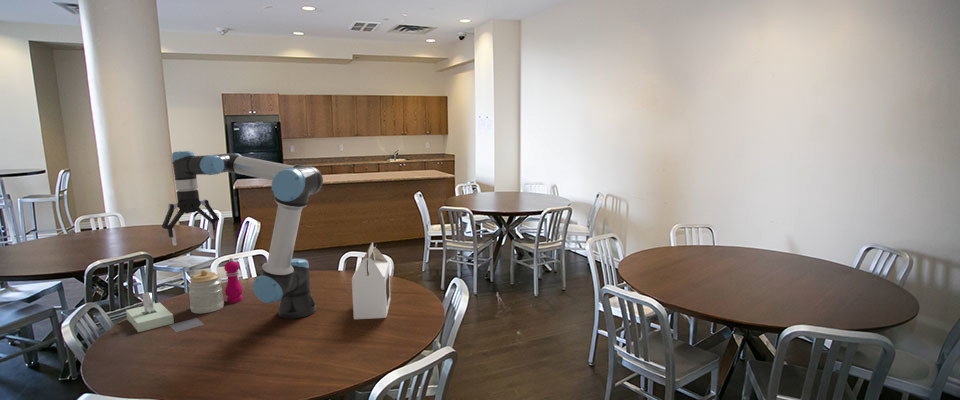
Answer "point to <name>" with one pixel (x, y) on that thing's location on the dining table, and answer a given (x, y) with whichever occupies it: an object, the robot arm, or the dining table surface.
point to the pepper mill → (233, 282)
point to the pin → (148, 303)
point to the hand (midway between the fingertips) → (193, 241)
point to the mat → (186, 325)
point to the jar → (205, 292)
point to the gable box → (371, 286)
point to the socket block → (149, 317)
